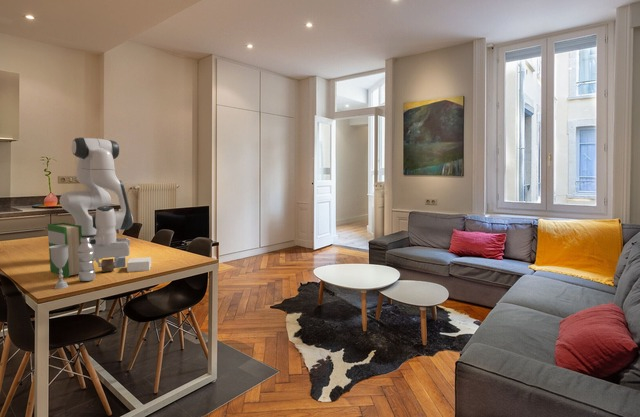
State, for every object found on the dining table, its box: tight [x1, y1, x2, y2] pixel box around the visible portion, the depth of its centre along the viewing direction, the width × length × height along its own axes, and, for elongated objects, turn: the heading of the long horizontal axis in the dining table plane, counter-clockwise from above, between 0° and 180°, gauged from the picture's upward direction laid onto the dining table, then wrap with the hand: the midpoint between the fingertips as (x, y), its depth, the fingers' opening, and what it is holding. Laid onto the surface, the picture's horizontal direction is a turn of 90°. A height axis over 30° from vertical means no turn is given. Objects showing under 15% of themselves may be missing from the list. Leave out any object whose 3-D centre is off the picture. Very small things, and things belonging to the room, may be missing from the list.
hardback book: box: [47, 222, 82, 279], centre depth 180 cm, size 18×7×24 cm, turn 57°
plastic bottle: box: [77, 237, 96, 282], centre depth 168 cm, size 6×7×20 cm
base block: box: [126, 256, 152, 273], centre depth 191 cm, size 10×10×5 cm
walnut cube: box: [100, 258, 115, 273], centre depth 185 cm, size 5×5×5 cm
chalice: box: [48, 245, 69, 290], centre depth 159 cm, size 7×7×18 cm
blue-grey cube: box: [113, 256, 127, 269], centre depth 195 cm, size 5×5×5 cm
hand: (107, 266), depth 185 cm, fingers closed on walnut cube, 5 cm apart
